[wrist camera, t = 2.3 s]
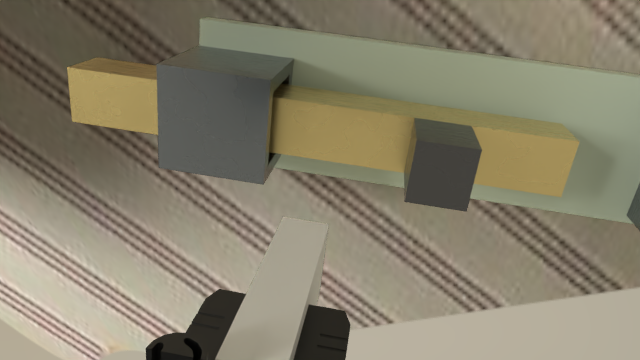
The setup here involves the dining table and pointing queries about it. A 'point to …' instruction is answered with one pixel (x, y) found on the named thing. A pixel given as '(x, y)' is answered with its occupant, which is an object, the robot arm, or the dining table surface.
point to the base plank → (469, 104)
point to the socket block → (635, 209)
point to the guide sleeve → (219, 112)
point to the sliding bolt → (362, 134)
